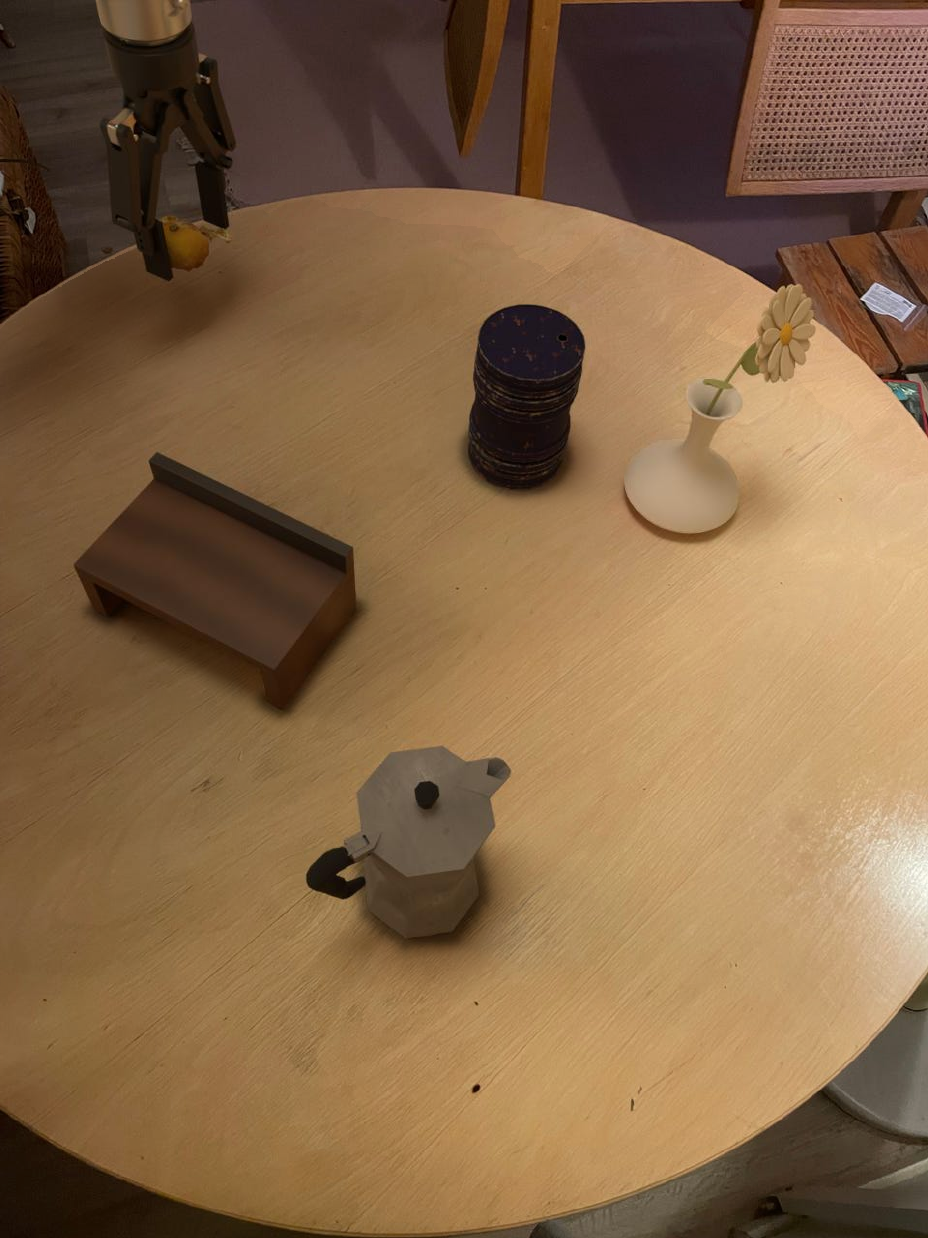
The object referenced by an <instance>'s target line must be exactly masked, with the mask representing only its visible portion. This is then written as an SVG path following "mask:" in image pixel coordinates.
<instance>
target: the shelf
mask: <svg viewBox="0 0 928 1238" xmlns="http://www.w3.org/2000/svg"><path fill="white" fill-rule="evenodd" d="M148 464H149V468H150V470H151V474H152V478H153V479H152V480H151V481H150V482H149V483H148V484H147V485H146V486H145V487H144V489H143V490H142V491H140V492H139V494H138V495H137V496H136V497H135V498H134V499H133V500H132V501H131V502H130V503H129V505H127V507H125V509H124V510H123V511H122V512H121V513H120V514H119V515H118V516H117V517H116V518H115V519H114V521H112V522H111V524H110V525H109V526H108V527H107V528H106V529H105V530H104V531H103V532H102V533H101V534H100V535H99V536H98V538H96V539H95V540H94V542H93V543H92V544H91V545H90V546H89V547H88V548H87V549H86V550H85V551H84V553H82V554H81V556H80V557H79V558H78V559H77V560H76V561H75V562H74V563H73V567H74V569H75V572H76V574H77V575H78V578H79V580H80V583H81V584H82V587H83V589H84V591H85V593H86V596H87V598H88V600H89V602H90V604H91V607H92V609H93V610H94V611H95V612H97V613H99V614H101V615H103V616H105V617H107V618H108V617H109V616H110V615H111V614H112V613H113V612H114V611H115V610H116V608H117V607H118V606H119V605H120V604H121V603H122V602H123V600H125V601H127V602H129V603H131V604H133V605H135V606H136V607H139V608H141V609H142V610H144V611H147V612H148V613H150V614H152V615H154V616H156V617H157V618H159V619H161V620H164V621H165V622H166V623H169V624H171V625H173V626H175V627H177V628H179V629H181V631H184V632H185V633H186V632H187V633H188V634H190V635H192V636H193V637H196V638H198V639H199V640H201V641H203V642H205V643H208V644H209V645H210V646H212V647H215V648H217V649H218V650H221V651H222V652H224V653H226V654H228V655H229V656H232V657H233V658H235V659H238V660H240V661H241V662H243V663H245V664H247V665H249V666H250V667H252V668H255V669H257V670H259V672H260V673H259V674H260V676H261V677H260V678H261V680H262V686H263V690H264V695H265V700H266V702H267V703H268V704H270V705H272V706H273V707H275V708H277V709H279V710H281V711H283V710H284V709H285V708H286V706H287V704H288V703H289V702H290V700H291V699H292V698H293V696H294V695H295V694H296V692H297V691H298V689H299V688H300V686H301V685H302V684H303V682H305V680H306V679H307V677H308V676H309V674H310V673H311V672H312V670H313V669H314V667H315V666H316V664H317V663H318V662H319V660H321V658H322V656H323V655H324V653H326V651H327V650H328V648H329V647H330V646H331V644H332V642H333V641H334V640H335V638H336V637H337V636H338V634H339V633H340V632H341V630H342V629H343V628H344V626H345V625H346V624H347V622H348V620H349V619H350V618H351V617H352V615H353V614H354V613H355V611H356V610H357V595H356V575H355V559H354V558H355V557H354V556H355V554H354V546H352V545H349V544H348V543H346V542H344V541H342V540H340V539H337V538H335V537H333V536H331V535H329V534H328V533H325V532H324V531H321V530H319V529H317V528H315V527H313V526H311V525H308V524H307V523H304V522H302V521H301V520H298V519H296V518H294V517H292V516H290V515H288V514H286V513H284V512H282V511H279V510H278V509H276V508H273V507H272V506H270V505H267V504H266V503H263V502H261V501H259V500H257V499H255V498H253V497H251V496H249V495H247V494H245V493H243V492H240V491H238V490H236V489H235V488H232V487H231V486H228V485H227V484H225V483H222V482H220V481H219V480H216V479H214V478H212V477H210V476H207V475H206V474H204V473H202V472H199V471H197V470H195V469H194V468H191V467H189V466H186V465H185V464H183V463H181V462H178V461H177V460H174V459H172V458H171V457H168V456H166V455H165V454H162V453H161V452H158V451H156V452H155V453H154V454H153V455H152V456H151V457H150V458H149V459H148Z"/></svg>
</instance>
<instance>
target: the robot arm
mask: <svg viewBox="0 0 928 1238" xmlns="http://www.w3.org/2000/svg"><path fill="white" fill-rule="evenodd" d="M95 4H96V9H97V14H98V18H99V21H100V25H101V26H102V27H103V28H102V36H103V40H104V44H105V50H106V53H107V57H108V62H109V67H110V70H111V72H112V74H113V75H114V78H115V79H116V81H117V82H118V84H119V85H120V87H121V90H122V99H121V109H122V110H121V111H120V112H119V113H118V114H116V116H115V117H114V118H113V119H112V118H110V117H107V116H104V117H102V118H101V120H100V123H99V128H100V131H101V134H102V137H103V140H104V143H105V145H106V146H105V147H106V158H107V171H108V186H109V199H110V209H111V210H110V212H111V221H112V223H113V224H114V225H116V226H118V227H120V228H122V229H125V230H127V231H129V232H132V233H133V235H134V240H135V244H136V248H137V250H138V251H139V252H140V253H142V259H143V262H144V266H145V270H146V272H147V273H149V274H151V275H153V276H155V277H157V278H160V279H162V280H164V281H166V282H171V280H173V279H174V273H173V268H171V263H170V258H169V253H168V248H167V243H166V238H165V233H164V228H163V223H162V221H159V219H158V218H156V217H157V208H158V199H159V191H160V182H161V173H162V164H163V156H164V154H165V153H167V152H168V150H169V144H170V136H171V135H172V134H173V132H174V131H175V130H176V129H178V128H179V129H180V130H181V131H182V133H183V135H184V136H185V138H186V140H187V141H188V142H189V144H190V145H191V146H192V147H191V148H193V150H194V151H195V153H196V154H197V156H198V157H199V159H201V160H203V161H201V160H198V161H197V162H195V163H194V170H195V176H196V177H195V178H196V182H197V189H198V194H199V202H200V207H201V212H202V213H201V214H202V219H203V222H206V223H208V224H210V225H213V226H215V227H217V228H218V229H222V228H224V229H225V230H226V231H227V229H228V228H229V227H230V220H229V213H228V206H227V198H226V191H227V190H226V189H227V181H226V175H225V170H230V169H231V168H232V166H233V162H234V161H233V158H232V157H230V156H228V155H227V153H228V152H231V153H232V152H234V151H235V149H236V146H237V141H236V137H235V134H234V130H233V127H232V123H231V121H230V120H231V119H230V117H229V113H228V111H227V107H226V104H225V100H224V96H223V93H222V91H221V87H220V84H219V68H218V67H219V66H218V60H217V59H215V58H213V57H210V56H208V55H205V54H202V53H200V52H199V48H198V42H197V34H196V28H195V25H194V23H193V21H192V19H193V13H192V6H191V0H95ZM144 133H145V134H147V135H149V136H152V137H154V138H155V139H154V138H151V137H149V136H147V135H145V134H144Z"/></svg>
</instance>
